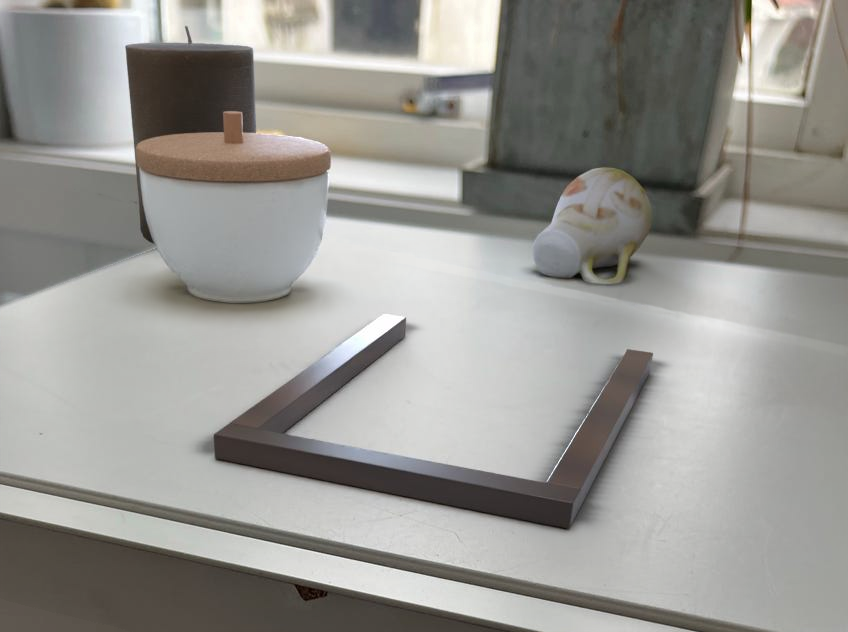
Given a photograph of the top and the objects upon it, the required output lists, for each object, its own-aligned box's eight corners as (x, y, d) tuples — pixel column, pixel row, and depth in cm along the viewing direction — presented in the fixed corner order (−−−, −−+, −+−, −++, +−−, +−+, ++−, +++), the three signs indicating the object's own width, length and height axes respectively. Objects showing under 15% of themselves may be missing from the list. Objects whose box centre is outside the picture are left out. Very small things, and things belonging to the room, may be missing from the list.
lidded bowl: (362, 302, 69) (367, 121, 63) (187, 324, 63) (173, 128, 57) (282, 260, 78) (279, 98, 72) (123, 277, 72) (105, 103, 66)
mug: (500, 281, 75) (525, 145, 74) (569, 320, 82) (592, 196, 81) (587, 275, 70) (614, 128, 69) (652, 316, 77) (677, 184, 76)
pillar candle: (210, 256, 78) (197, 31, 70) (116, 238, 82) (94, 23, 74) (283, 235, 85) (280, 27, 77) (193, 219, 89) (181, 20, 81)
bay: (383, 333, 63) (383, 313, 62) (649, 373, 58) (653, 352, 57) (214, 458, 46) (212, 434, 46) (569, 529, 41) (573, 503, 41)
